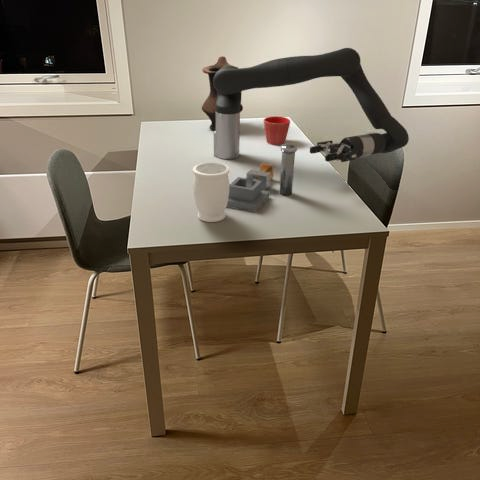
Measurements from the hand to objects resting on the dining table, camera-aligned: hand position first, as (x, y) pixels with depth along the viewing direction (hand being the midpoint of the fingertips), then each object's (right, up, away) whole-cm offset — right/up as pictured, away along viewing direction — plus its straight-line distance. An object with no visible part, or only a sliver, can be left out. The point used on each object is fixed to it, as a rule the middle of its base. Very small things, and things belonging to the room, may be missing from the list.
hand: (318, 154), depth 156 cm
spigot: (-10, -13, +1) cm, 16 cm away
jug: (-33, +23, +65) cm, 77 cm away
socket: (-24, -16, -5) cm, 29 cm away
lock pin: (-18, -9, +7) cm, 21 cm away
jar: (-34, -21, -14) cm, 42 cm away
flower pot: (-10, +13, +48) cm, 51 cm away
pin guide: (-19, -10, +5) cm, 22 cm away
